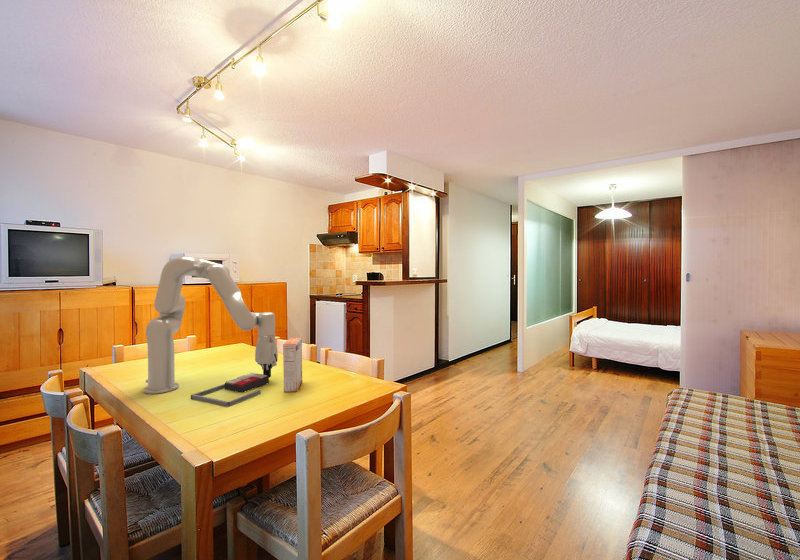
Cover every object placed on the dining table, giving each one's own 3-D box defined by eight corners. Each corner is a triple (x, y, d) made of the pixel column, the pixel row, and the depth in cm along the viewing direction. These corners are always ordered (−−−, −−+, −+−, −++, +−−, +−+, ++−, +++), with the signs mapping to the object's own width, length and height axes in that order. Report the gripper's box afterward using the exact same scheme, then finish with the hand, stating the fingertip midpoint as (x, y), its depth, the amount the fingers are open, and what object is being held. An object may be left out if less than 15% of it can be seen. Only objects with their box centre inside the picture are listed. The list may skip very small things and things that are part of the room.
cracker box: (289, 382, 161) (289, 337, 160) (302, 382, 161) (302, 337, 161) (282, 392, 147) (282, 343, 146) (297, 392, 147) (297, 343, 147)
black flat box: (223, 381, 151) (252, 371, 164) (224, 391, 151) (252, 380, 164) (241, 385, 146) (269, 374, 159) (241, 395, 146) (269, 383, 160)
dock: (190, 398, 139) (190, 395, 139) (225, 387, 154) (225, 383, 154) (227, 406, 130) (227, 403, 130) (260, 393, 145) (260, 390, 145)
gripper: (248, 339, 161) (248, 378, 162) (273, 341, 155) (273, 381, 156) (260, 336, 168) (261, 373, 169) (284, 338, 162) (285, 377, 163)
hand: (267, 377), depth 162 cm, fingers closed
